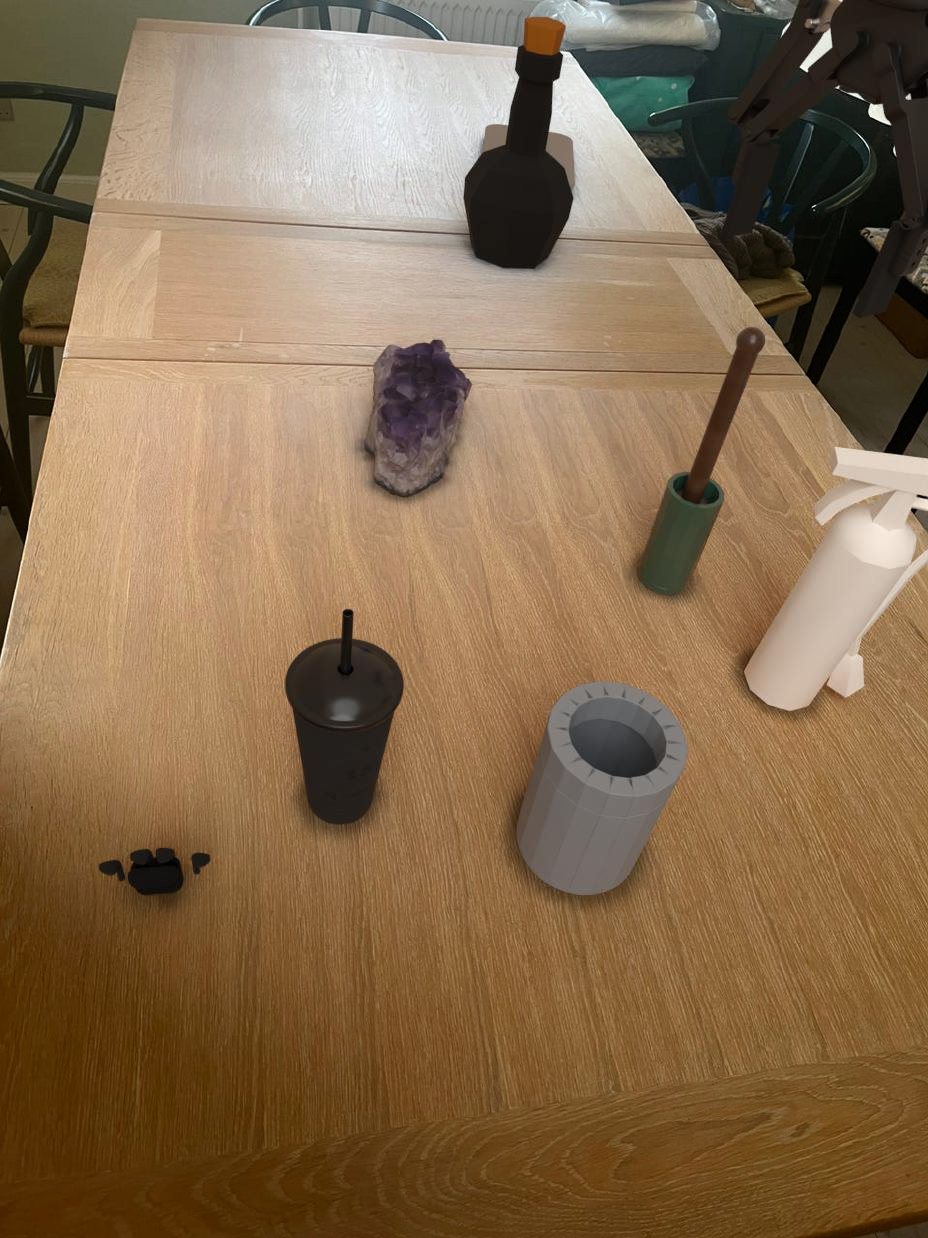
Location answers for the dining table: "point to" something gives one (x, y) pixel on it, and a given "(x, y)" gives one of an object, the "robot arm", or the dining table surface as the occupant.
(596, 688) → the gray cylindrical holder
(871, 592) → the fire extinguisher
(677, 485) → the brush pot
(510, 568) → the dining table surface
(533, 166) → the bottle
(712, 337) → the dining table surface
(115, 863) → the wireless earbuds
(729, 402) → the brush
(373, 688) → the drinking cup
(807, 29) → the robot arm
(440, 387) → the geode
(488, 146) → the tablet
